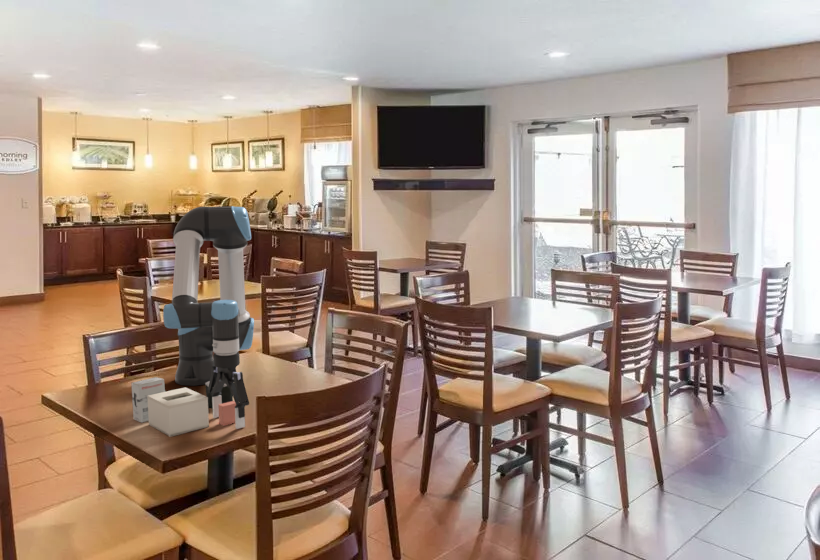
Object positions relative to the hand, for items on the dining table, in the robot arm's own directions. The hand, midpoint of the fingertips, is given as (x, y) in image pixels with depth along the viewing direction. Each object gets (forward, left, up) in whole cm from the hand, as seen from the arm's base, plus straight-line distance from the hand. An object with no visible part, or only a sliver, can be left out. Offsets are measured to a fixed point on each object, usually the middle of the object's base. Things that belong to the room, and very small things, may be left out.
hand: (228, 422), depth 207 cm
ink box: (-21, -15, 0) cm, 26 cm away
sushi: (-18, +7, 0) cm, 19 cm away
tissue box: (-8, -12, 0) cm, 14 cm away
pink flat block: (0, 0, 0) cm, 0 cm away
